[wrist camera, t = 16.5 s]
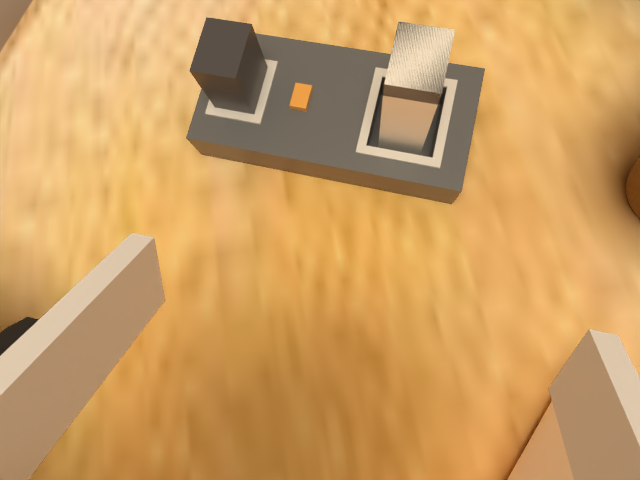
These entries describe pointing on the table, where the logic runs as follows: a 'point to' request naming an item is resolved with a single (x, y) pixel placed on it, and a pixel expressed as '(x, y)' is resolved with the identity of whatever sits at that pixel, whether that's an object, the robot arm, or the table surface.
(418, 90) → the plug
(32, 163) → the table surface
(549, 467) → the white lumpy block
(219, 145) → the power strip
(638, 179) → the plant pot
